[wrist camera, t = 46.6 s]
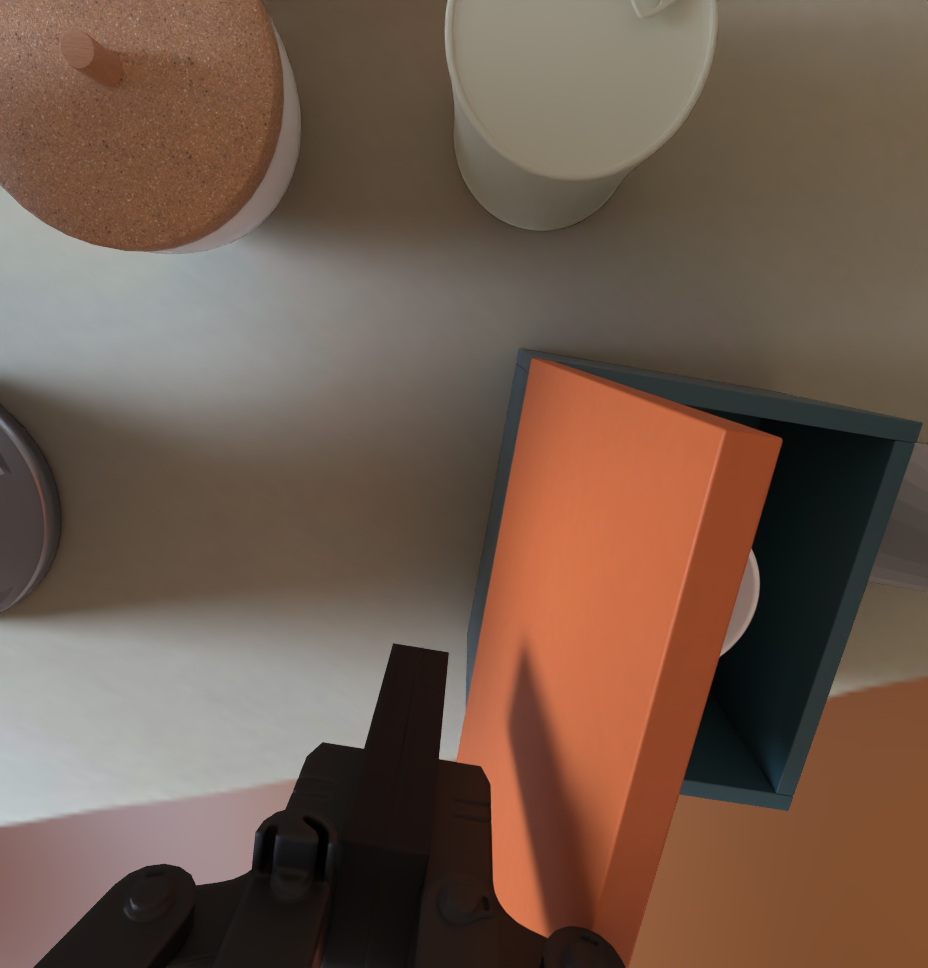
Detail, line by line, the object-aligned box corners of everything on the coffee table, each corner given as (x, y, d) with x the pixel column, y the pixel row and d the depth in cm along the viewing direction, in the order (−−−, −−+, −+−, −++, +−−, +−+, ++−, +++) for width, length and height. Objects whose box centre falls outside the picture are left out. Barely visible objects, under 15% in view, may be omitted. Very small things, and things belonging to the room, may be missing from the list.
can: (663, 174, 32) (770, 88, 21) (505, 263, 33) (522, 230, 22) (586, -8, 30) (656, -216, 19) (421, 94, 32) (390, -42, 20)
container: (776, 391, 35) (923, 422, 23) (696, 670, 39) (788, 811, 28) (519, 348, 35) (541, 358, 23) (467, 634, 39) (464, 762, 27)
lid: (784, 438, 8) (724, 429, 8) (524, 1324, 12) (484, 1323, 12) (552, 361, 23) (531, 357, 23) (473, 770, 27) (454, 768, 27)
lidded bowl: (323, 282, 34) (254, 260, 23) (91, 256, 34) (-88, 222, 23) (337, 15, 31) (263, -153, 20) (81, -15, 31) (-130, -198, 20)
